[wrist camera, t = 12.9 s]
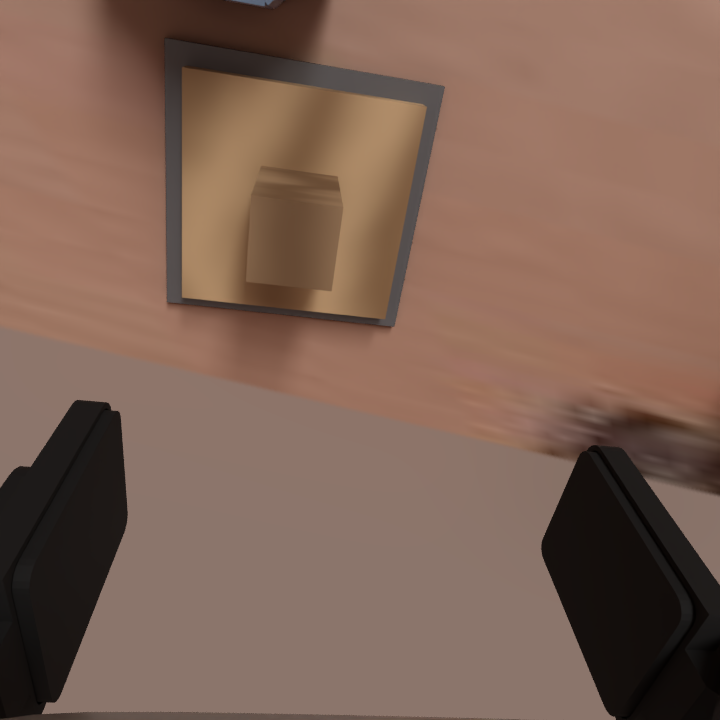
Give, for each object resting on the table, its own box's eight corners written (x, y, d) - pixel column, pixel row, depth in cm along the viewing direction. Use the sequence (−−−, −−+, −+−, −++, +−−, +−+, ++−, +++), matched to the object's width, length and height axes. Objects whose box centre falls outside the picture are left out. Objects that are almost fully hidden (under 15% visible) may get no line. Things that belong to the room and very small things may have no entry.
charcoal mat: (442, 85, 30) (444, 86, 29) (393, 323, 37) (394, 326, 36) (166, 37, 28) (164, 38, 27) (168, 298, 35) (167, 302, 34)
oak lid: (422, 104, 30) (452, 125, 24) (382, 310, 36) (398, 370, 30) (186, 65, 28) (152, 77, 22) (185, 289, 34) (158, 348, 28)
